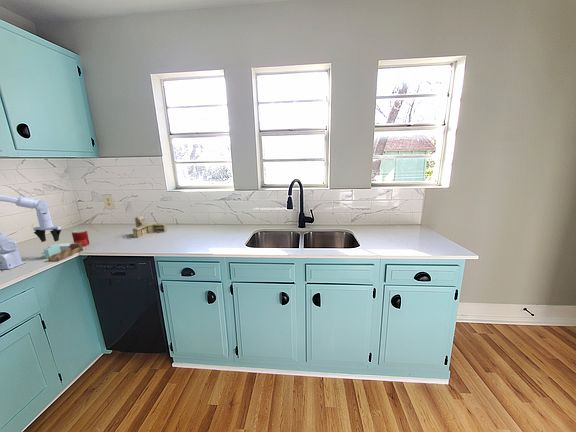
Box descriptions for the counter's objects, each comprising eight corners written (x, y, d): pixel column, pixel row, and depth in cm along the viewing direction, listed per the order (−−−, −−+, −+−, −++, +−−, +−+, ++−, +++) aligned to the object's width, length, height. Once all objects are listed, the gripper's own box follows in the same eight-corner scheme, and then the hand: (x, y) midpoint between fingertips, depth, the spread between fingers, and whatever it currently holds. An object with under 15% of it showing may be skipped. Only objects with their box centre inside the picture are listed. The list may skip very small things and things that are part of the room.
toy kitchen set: (153, 238, 184) (150, 218, 180) (132, 238, 185) (129, 219, 182) (167, 231, 202) (164, 213, 199) (148, 231, 203) (145, 213, 200)
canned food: (91, 244, 171) (88, 229, 169) (77, 248, 165) (74, 232, 162) (86, 243, 175) (83, 228, 173) (73, 246, 169) (69, 231, 166)
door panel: (50, 258, 148) (47, 249, 146) (45, 258, 147) (43, 249, 146) (61, 253, 155) (59, 244, 154) (57, 253, 155) (55, 245, 154)
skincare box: (49, 253, 157) (69, 252, 158) (47, 246, 156) (68, 245, 157) (56, 249, 163) (76, 249, 164) (55, 243, 162) (75, 242, 163)
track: (59, 261, 143) (57, 253, 142) (48, 261, 143) (46, 253, 142) (83, 250, 161) (81, 243, 159) (73, 250, 160) (72, 243, 159)
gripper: (63, 218, 152) (67, 238, 155) (38, 218, 151) (44, 239, 154) (53, 220, 145) (58, 242, 148) (27, 221, 144) (33, 243, 147)
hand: (50, 241), depth 150 cm, fingers open, 7 cm apart
